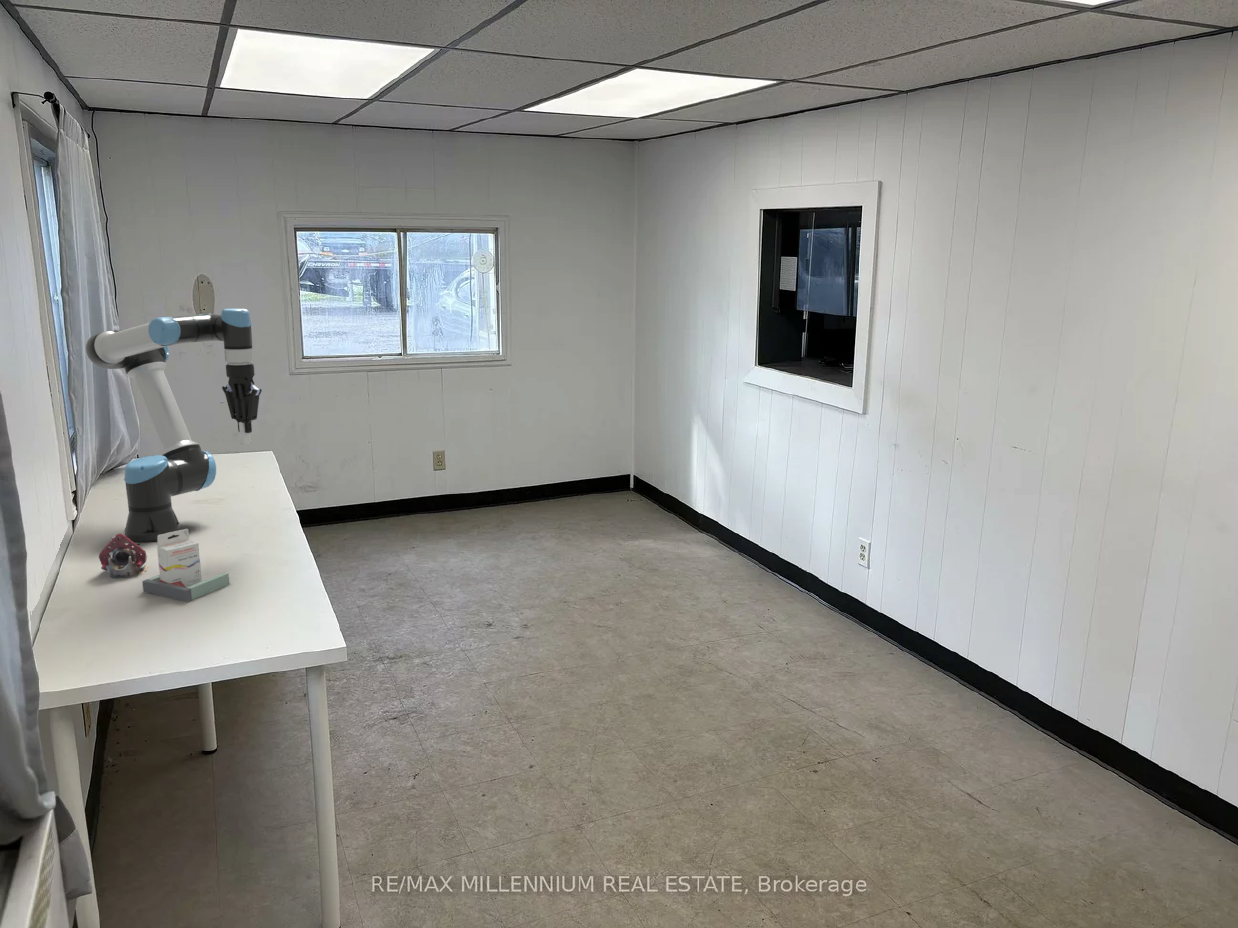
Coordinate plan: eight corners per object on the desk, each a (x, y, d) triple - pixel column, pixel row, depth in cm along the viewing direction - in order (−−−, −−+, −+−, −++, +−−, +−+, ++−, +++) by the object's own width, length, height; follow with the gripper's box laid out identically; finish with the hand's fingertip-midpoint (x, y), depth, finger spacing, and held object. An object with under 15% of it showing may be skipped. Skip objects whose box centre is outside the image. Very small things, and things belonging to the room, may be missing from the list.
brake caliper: (93, 574, 234) (96, 531, 238) (104, 587, 244) (106, 545, 248) (141, 571, 237) (143, 528, 242) (150, 583, 247) (152, 542, 251)
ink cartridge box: (170, 594, 228) (164, 539, 224) (160, 590, 231) (154, 535, 227) (203, 585, 235) (198, 531, 231) (193, 580, 237) (188, 527, 234)
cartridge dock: (143, 592, 229) (142, 580, 228) (187, 575, 241) (186, 564, 241) (187, 601, 223) (185, 590, 223) (229, 584, 236) (228, 573, 235)
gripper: (266, 363, 261) (272, 443, 266) (232, 360, 265) (239, 439, 271) (246, 366, 254) (253, 448, 259) (212, 363, 259) (219, 443, 264)
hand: (246, 443), depth 265 cm, fingers closed
